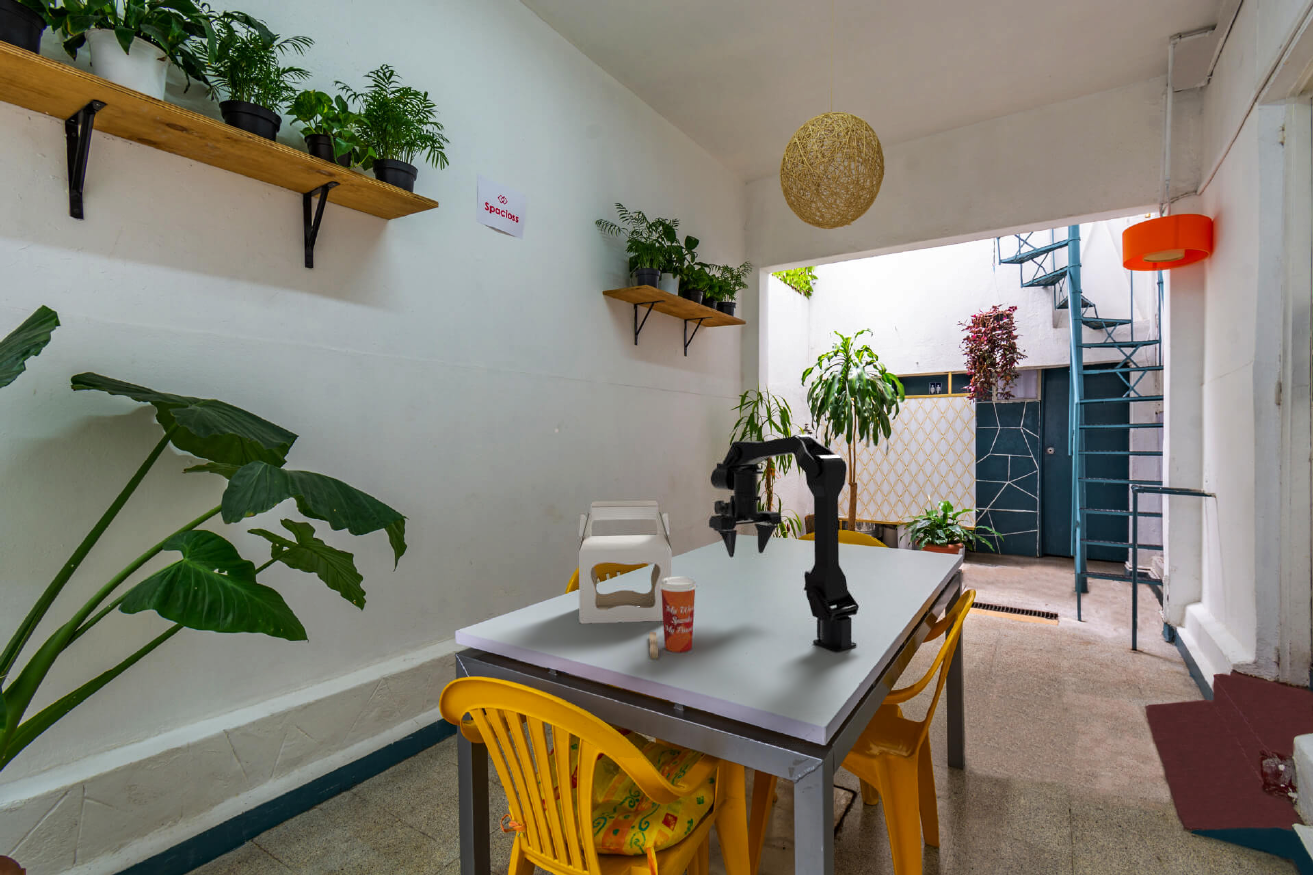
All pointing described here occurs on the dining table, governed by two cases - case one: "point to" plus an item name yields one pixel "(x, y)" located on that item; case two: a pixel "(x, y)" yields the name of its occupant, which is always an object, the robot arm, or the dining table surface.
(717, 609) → the dining table surface
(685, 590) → the paper cup
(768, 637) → the dining table surface
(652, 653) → the oak strip
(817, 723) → the dining table surface
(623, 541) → the gable box
